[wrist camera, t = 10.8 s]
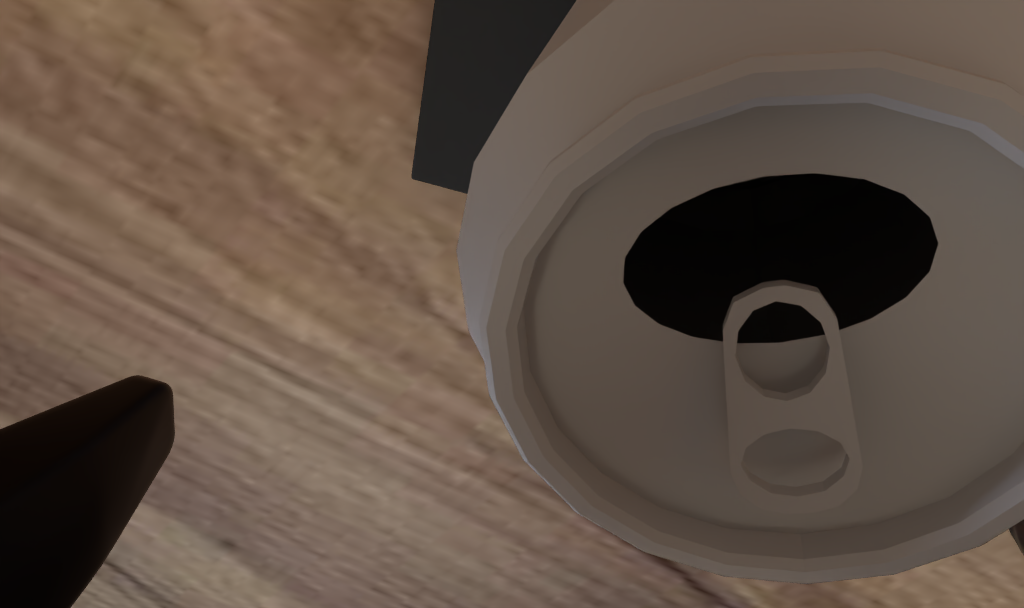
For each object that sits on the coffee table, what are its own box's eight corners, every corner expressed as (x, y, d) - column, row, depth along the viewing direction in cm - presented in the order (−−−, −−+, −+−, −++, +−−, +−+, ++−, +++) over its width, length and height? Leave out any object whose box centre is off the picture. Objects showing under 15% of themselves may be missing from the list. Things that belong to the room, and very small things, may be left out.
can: (918, -175, 15) (1395, -166, 5) (919, 190, 18) (1193, 642, 8) (537, -72, 17) (303, 82, 7) (604, 235, 20) (514, 634, 10)
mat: (1184, -117, 15) (1201, -115, 14) (928, 308, 20) (934, 321, 20) (478, -280, 16) (471, -284, 15) (416, 171, 21) (410, 179, 21)
